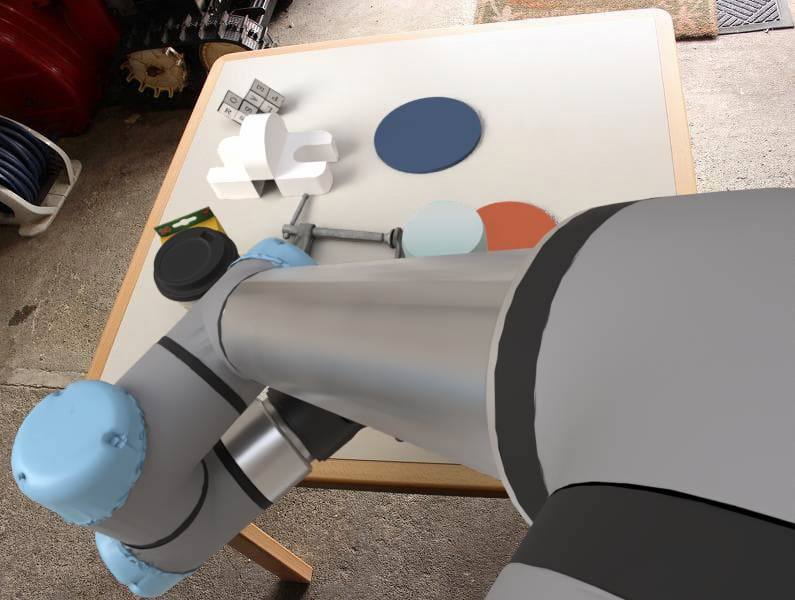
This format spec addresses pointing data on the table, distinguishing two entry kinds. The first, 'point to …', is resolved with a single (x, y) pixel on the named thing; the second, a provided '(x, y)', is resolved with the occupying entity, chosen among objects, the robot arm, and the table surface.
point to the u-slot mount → (273, 160)
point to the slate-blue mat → (427, 135)
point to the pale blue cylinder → (444, 230)
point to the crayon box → (190, 224)
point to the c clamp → (337, 234)
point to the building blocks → (250, 102)
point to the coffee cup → (192, 264)
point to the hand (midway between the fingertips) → (496, 263)
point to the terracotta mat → (514, 225)
